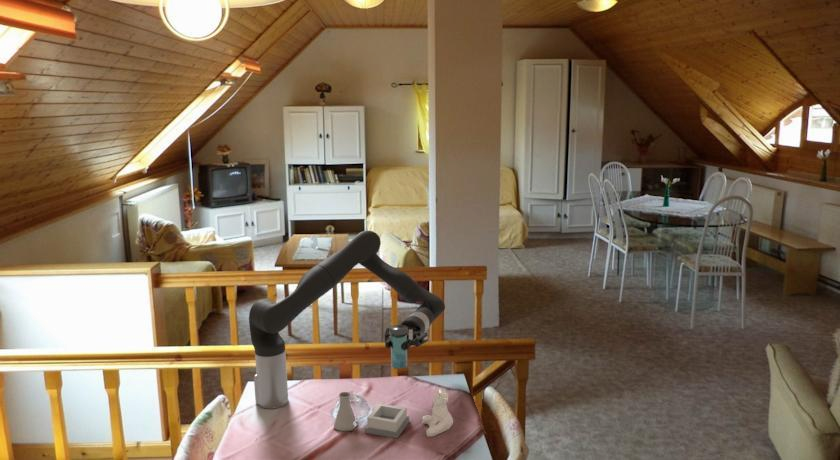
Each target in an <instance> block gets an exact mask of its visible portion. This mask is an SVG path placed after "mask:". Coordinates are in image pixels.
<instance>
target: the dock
mask: <svg viewBox="0 0 840 460" xmlns="http://www.w3.org/2000/svg"><path fill="white" fill-rule="evenodd" d="M407 411H408V410H407V407H403V406H397V405H390V404H385V403H378V404H377V405H376V406H375V408H374V409H372V411H371V412H370V414H369V415H368V416H367V417H366V418H367V419H366V422H367V424H366V426H365V427H364V433H365V434H370V435H377V436H383V437H387V438H394V439H398V438H399V437H400V435H401V434H402V433H403V431H404V429H406V426H407V425H408V424H409V422H410V416H408V413H407Z"/></svg>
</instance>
